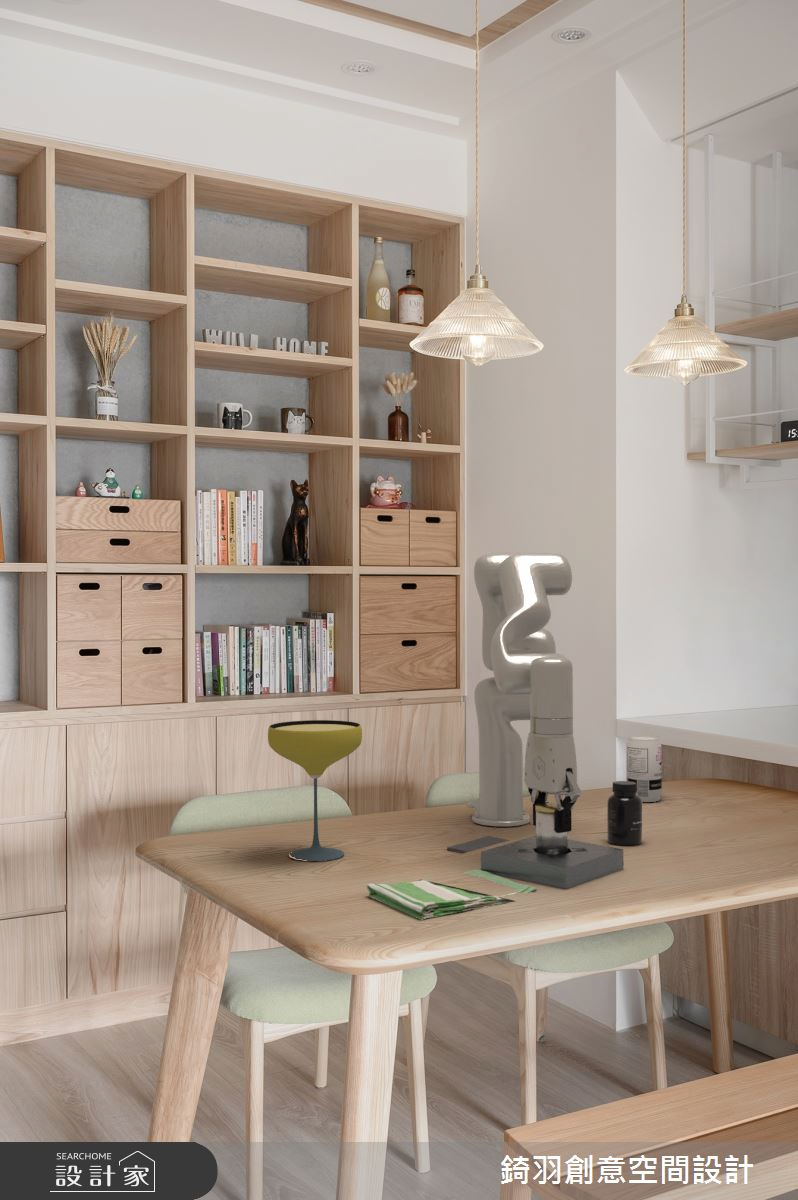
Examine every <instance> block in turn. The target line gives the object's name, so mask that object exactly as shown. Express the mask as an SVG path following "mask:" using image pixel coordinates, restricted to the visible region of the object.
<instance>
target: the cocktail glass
mask: <svg viewBox="0 0 798 1200" xmlns="http://www.w3.org/2000/svg"><path fill="white" fill-rule="evenodd" d="M267 741H268V745H269V747H270V748H271V749H272V751H274V752H275V753H276V754H277V755H279V756H281V757H282V758H284V759H286V760H289V761H291V762H292V763H295V764H296V765H299V766H300V767H301V768H302V769H304V771H305V772H306V774H308V776H309V777H310V778H311V779H313V835H312V843H311V846H310V847H303V848H299V849H298V850H297V849H294V850H295V851H294V850H292V851H293V852H292V853H290V852H289V853H290V855H291V856H292V857H295V858H296V859H302V860H307V861H324V862H326V861H325V860H331V861H333V860H332V859H336V860H338V859H337V858H339V859H341V858H343V857H344V856H343V855H345V852H344V851H343V850H341V849H338V848H333V847H324V846H321V845H320V838H319V827H318V826H319V825H318V823H319V822H318V819H319V818H318V779H319V778H321V777H322V776H323V774H324V772H326V770H327V769H328V768H329V767H330V766H332V765H333V764H335V763H337V762H338V761H340V760H343V759H344V758H346V757H348V756H349V755H351V754H352V753H354V752H355V751H356V750H357V749H358V748H359V747H360V745H361V744H362V741H363V729H362V725H361V724H360V723H358V722H355V721H346V720H335V719H334V720H333V719H332V720H330V719H329V720H328V719H327V720H326V719H313V720H293V721H283V722H277V723H276V722H275V723H273V724H270V725H269V726H268V730H267ZM342 856H343V857H342ZM340 857H341V858H340Z"/></svg>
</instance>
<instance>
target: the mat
mask: <svg viewBox="0 0 798 1200" xmlns="http://www.w3.org/2000/svg"><path fill="white" fill-rule="evenodd" d="M507 841H510V839H506V838H499V837H494V836H489V835H488V836H483V837H479V838H476V839H473V840H469V841H466V842H461V843H458V844H454V845H451V846H447V847H446V850H447V852H453V853H457V854H466V853H470V852H473V851H477V850H480V849H483V848H487V847H491V846H495V845H497V844H498V845H499V844H502V843H505V842H507Z"/></svg>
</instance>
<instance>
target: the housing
mask: <svg viewBox="0 0 798 1200" xmlns="http://www.w3.org/2000/svg"><path fill="white" fill-rule="evenodd" d="M480 870H482V871H486V872H489V873H491V874H493V875H497V876H500V877H503V878H509V879H510V878H511V879H515V880H519V881H525V882H529V883H533V884H538V885H544V886H548V887H552V888H553V887H554V888H557V889H563V890H569V889H572V888H575V887H576V886H577V887H578V886H580V885H583V884H585V883H589V882H591V881H594V880H596V879H599V878H603V877H604V876H608V875H611V874H613V873H616V872H619V871H622V870H624V849H623V848H620V847H613V846H608V845H602V844H597V843H596V844H595V843H590V842H587V841H586V842H585V841H579V840H574V839H568V853H567V854H564V855H546V854H541V853H536V835H534V836H531V837H530V836H529V837H526V838H524V839H520V840H517V841H513V842H510V843H506V844H503V845H500V846H495V847H492V848H489V849H485V850H482V851H480Z"/></svg>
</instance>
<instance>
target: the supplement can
mask: <svg viewBox="0 0 798 1200" xmlns="http://www.w3.org/2000/svg"><path fill="white" fill-rule="evenodd" d="M625 744H626V745H625V746H626V747H625V749H626V750H625V753H626V757H625V758H626V761H625V762H626V766H625V767H626V769H625V770H626V772H625V773H626V779H625V780H626V781H629V782H635V783H637V793H636V795H637V796H638V797H639V798H640V799H641V801H642V802H654V803H657V802H656V801H658V802H660V800H661V799H662V798H663V793H662V792H663V791H662V790H663V787H662V786H663V782H662V780H663V777H662V776H663V774H662V773H663V772H662V770H663V769H662V765H663V764H662V761H663V760H662V754H663V753H662V750H663V749H662V743H661V740H660V738H659V737H657V736H651V735H633V736H629V737H628V739H627V741H626V743H625Z"/></svg>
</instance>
